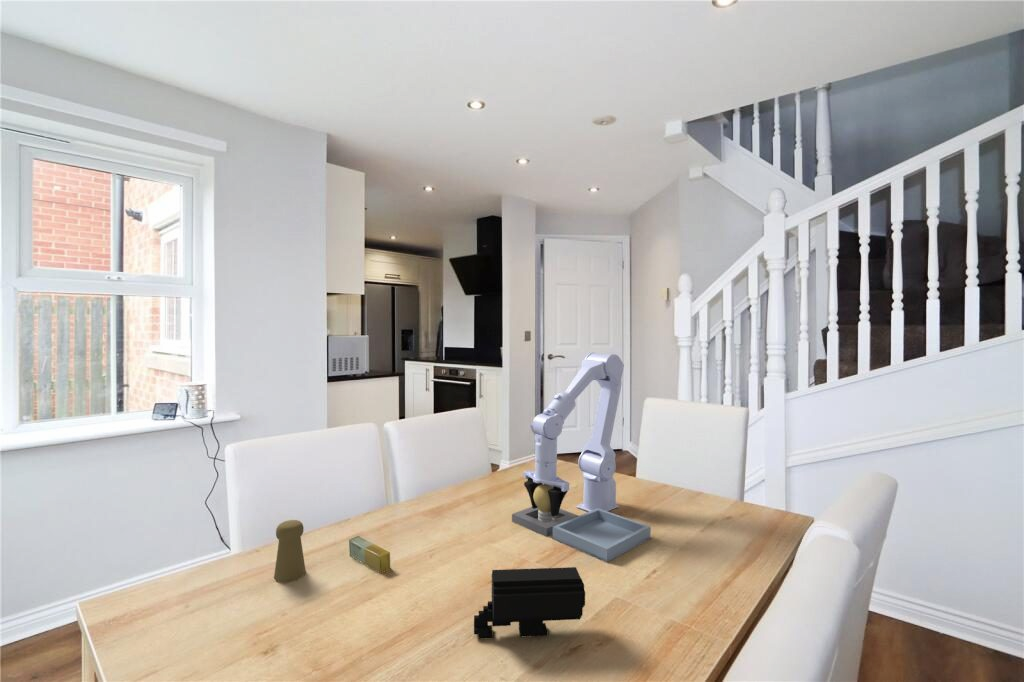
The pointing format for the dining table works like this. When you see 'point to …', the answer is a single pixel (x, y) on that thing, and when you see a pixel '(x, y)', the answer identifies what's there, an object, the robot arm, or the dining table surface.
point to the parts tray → (601, 534)
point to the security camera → (531, 600)
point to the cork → (289, 552)
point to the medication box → (369, 554)
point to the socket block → (546, 529)
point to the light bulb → (543, 502)
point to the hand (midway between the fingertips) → (545, 511)
